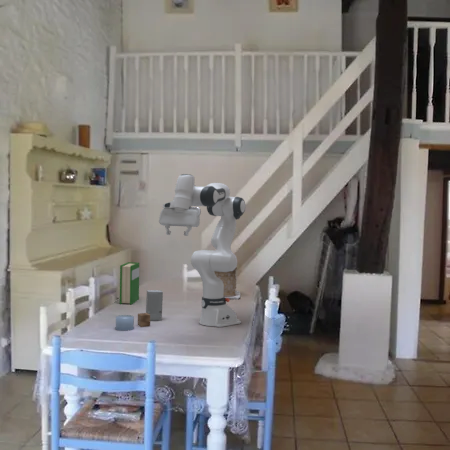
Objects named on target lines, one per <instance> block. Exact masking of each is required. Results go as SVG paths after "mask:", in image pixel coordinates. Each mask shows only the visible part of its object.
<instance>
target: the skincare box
mask: <svg viewBox="0 0 450 450" xmlns="http://www.w3.org/2000/svg"><path fill="white" fill-rule="evenodd" d="M163 293H164V292H163V291H162V290H160V289H159V290H158V289H157V290H156V289H152V290H151V289H148V290H146V302H145V313H148V314H150V322H151V321H162V320H163V297H164V295H163Z"/></svg>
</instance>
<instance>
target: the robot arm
mask: <svg viewBox="0 0 450 450" xmlns="http://www.w3.org/2000/svg"><path fill="white" fill-rule="evenodd" d="M195 178H196V177H195V176H194V175H192V174H188V173H183V174H182V173H181V174H180V175H178V177H177V180H176V184H175V189H174V193H175V194H174V197H173V200H170V201H168V202H165V203H163V204H162V208H163V209H161V211H160V214H159V217H158V218H159V219H158V223H159V224H160V225H161V226H163V227H164V228H165V230H166V231H165V235H168V236H170V235H171V233H172V231H171V230H170V227H186V230H185V231H183V235H184V236H186V237H188V236H189V233H190V232H191V230H192V228H198V227H199V226H200V223H201V222H200V221H201V214H202V213H201V212H202V211H201V208H199V207H206V211H207V213H208V214H209V215H210V216H212V217H220V220H219V221H218V222H217V224H216V226H215V228H214V231H213V233H212V237H211V241H210V242H211V245H212V247H213V248H214V249H215V250H212V249H210V250H209V249H199V250H195V251H193V253H192V254H191V257H190V264H191V266H192V267H193V269H195V270H196V271H197V273H198V274H199V277H200V278H201V279H200V280H201V283H202V296H201V315H200V318H199V322H198V323H199V324H200V325H203V326H207V327H218V328H223V327H228V326H234V325H240V324H241V323H242V321H241V320H240V319H238V316H237V313H236V311H235V309H233V308H232V307H231V306H230V305H228V304H227V303H230V301H231V299H229V298H225V297H223V293H224V284H223V282H222V280H220V279H219V278H217V276H216V275H215V272H214V271H217V272H229V271H233V270H234V269H235V268H236V267H238V266H237V265H238V258H237V255H236V254H235V253H233V251H232V248H231V246H232V243H233V239H234V237H235V234H236V229H237V220H240V218H241V217H242V216H243V215H244V213H246V212H245V211H246V202H245V200H244V198H243V197H239V196H230V194H231V189H230V188H229V186H228V185H227V184H225V183H222V182H211V183H208V184H207V185H205V186H196V185H195V183H196V182H195Z"/></svg>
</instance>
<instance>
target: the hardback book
mask: <svg viewBox="0 0 450 450" xmlns="http://www.w3.org/2000/svg"><path fill="white" fill-rule="evenodd" d="M119 266H120V267H119V305H123V304H129V305H133V304H134V303H136V302H138V301H139V299H140V262H132V261H131V262H128V261H127V262H125V263H124V264H123V263H122V264H121V265H119Z"/></svg>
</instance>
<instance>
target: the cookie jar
mask: <svg viewBox="0 0 450 450" xmlns="http://www.w3.org/2000/svg"><path fill="white" fill-rule="evenodd" d="M237 270H238V266H236V268H235V269H234V270H233V271H229V272H217V271H214V272H215V275H216V276H217V278H219V279H220V280H222V282H223V284H224V293H223V297H225V298H229V299H230V300H231V299H232V300H239V299H240V298H241V291H239V290H237V277H236V276H237V275H236V274H237V272H236V271H237Z"/></svg>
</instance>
